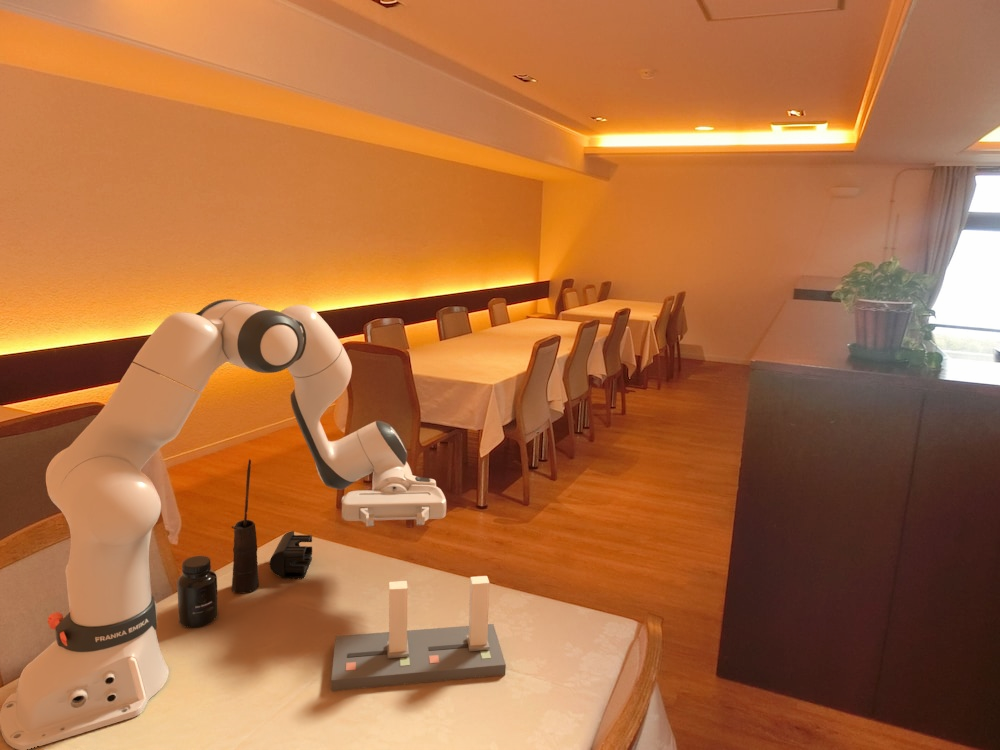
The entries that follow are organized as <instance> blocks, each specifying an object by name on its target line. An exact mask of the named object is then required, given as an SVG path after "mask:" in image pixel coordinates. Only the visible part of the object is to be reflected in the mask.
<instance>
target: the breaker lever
mask: <svg viewBox="0 0 1000 750" xmlns="http://www.w3.org/2000/svg"><path fill="white" fill-rule="evenodd" d="M469 578H470V579H469V580H470V581H469V582H470V585H469V588H470V589H469V611H468V612H469V613H468V615H469V617H468V626H469V635H466V639H467V643H468V648H469V651H478V650H489V649H490V647H489V643H488V640H487V635H488V624H489V605H490V580H489V578H488V576H487V575H477V576H470V577H469Z"/></svg>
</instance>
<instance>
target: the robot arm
mask: <svg viewBox="0 0 1000 750" xmlns="http://www.w3.org/2000/svg"><path fill="white" fill-rule="evenodd" d="M226 363H230V364H231V365H233V366H235V367H239V368H244V369H246V370H247V369H248V370H252V371H254V372H256V373H259V374H260V373H264V374H273V373H279V372H281V371H284V370H286V369H287V370H288V372H289V374H290V375H291V376H292V378H293V382H294V389H293V390H292V392H291V393H290V394H289V395H290V404H291V408H292V412H293V414H294V416H295V419H296V422H297V424H298V427H299V428H300V431H301V433H302V436H303V438H304V441H305V442H306V443H305V444H306V445H307V447H308V450H309V451H310V454H311V456H312V458H313V460H314V464H315V467H316V470H317V471H316V472H317V475H318V476H319V478H320V480H321V481H322V483H323V484H325V486H326V487H329V488H331V489H335V490H345V489H346V488H349V487H350V486H351V485H352V484H355V483H356V482H357V481H359V480H360V479H362V478H365V477H366V476H368V475H371V474H372V480H371V481H372V482H371V483H372V485H371V486H372V488H371V490H369V489H366V490H363V489H362V490H352V491H348V492H347V493H346V494H345V495H342V497H341V500H340V501H341V519H342V520H344V521H347V522H360V521H361V522H362V523H364V524H365V527H374V525H375V521H395V520H397V521H398V520H400V521H402V520H416V526H425V523H426V521H428V520H432V519H433V520H436V519H437V520H439V519H444V518H445V517H446V515H447V499H446V496H445V494H444V492H443V491H442V489H441V488H440V487H438V486H437V481H436V480H435V479H433V478H428V477H427V478H426V477H420V476H417V475H413V472H412V469H411V467H410V464H409V463H408V461H407V460H408V451H407V449H406V446H405V443H404V441H403V439H402V437H401V436H400V433H399V432H398V431H397V430H396V428H395V427H394V426H393V425H391V424H389V423H387V422H385V421H381V420H375V421H373V422H371V423H368V424H367V425H365V426H363V427H361V428H359V429H357V430H355V431H353V432H352V433H349V434H347V435H345V436H344V437H342V438H340V439H337V440H333V441H330V440H329V439H328V437H327V435H326V432H325V430H324V427H323V425H322V423H321V418H322V416H323V415H324V413H325V412H326V411H327V409H328V408H329V407H330V406H331V405H332V404H333V403H334V402H335V401H336V400H337V399H339V398H340V397H341V395H342V394H343V393H344V392H345V390H346V389H347V388H348V385H349V383H350V381H351V377H352V371H353V366H352V363H351V360H350V357H349V356H348V353H347V351H346V349H345V347H344V345H343V344H342V342H341V341H340V339H339V337H338V336H337V334H336V333H335V332H334V331H333V330H332V328H331V326H329V324H328V323H327V322H326V321H325V320H324V318H322V316H321V315H320V314H319V313H318V312H317V311H316V310H315V309H314V308H312V307H311V306H308V305H305V304H304V305H303V304H295V305H291V306H288V307H285V308H284V309H282V310H280V311H278V310H275V309H269V308H267V307H264V306H262V305H259V304H258V303H255V302H249V301H241V300H237V299H232V298H231V299H230V298H229V299H219V300H216V301H213V302H211V303H209V304H207V305H205V306H204V307H203V308H202V309H201V310H200V311H197V312H196V313H193V312H184V311H183V312H182V311H180V312H175V313H172V314H170V315H169V316H167V317H166V318H165V319H164V320H163V321H162V322H161V323H160V325H159V326H157V327H156V329H155V330H154V332H152V333H151V334H150V336H149V337H148V338H147V340H146V341H145V342H144V344H143V345H142V347H141V348H140V349H139V351H138V352H137V354H136V356H135V357H134V359H133V360H132V362H131V363H130V365H129V367H128V368H127V370H126V372H125V374H124V375H123V376H122V378H121V380H120V382H119V383H118V385H117V386H116V388H115V389H114V391H113V393H112V395H110V398H109V399H108V401H107V403H106V404H105V405H104V406H103V407H102V408H101V410H100V412H98V414H97V415H96V417H94V419H93V420H92V421H91V422H90V423H89V424H88V425H87V426H86V427H85V428H84V430H83V431H82V432H81V433H80V434H79V435H78V436H77V437H76V438H75V439H74V441H73V442H72V443H71V444H70V445H69V446H68V447H66V448H64V449H62V450H61V451H60V452H59V451H58V453H57V454H56V455H54V457H52V459H51V461H50V462H49V464H48V466H47V468H46V470H45V471H46V472H45V483H46V484H45V485H46V490H47V495H48V497H49V499H50V500H51V502H52V503H53V504H54V505H55V506H56V507H57V508H58V509H59V510H60V511H61V513H62V514H63V516H64V517H65V519H66V522H67V523H68V528H69V532H70V547H69V548H70V550H69V558H68V562H67V564H66V566H65V579H66V589H67V597H68V599H67V601H68V606H69V612H68V613H67V614H66V615H65V616H64V615H63V613H61V612H59V611H58V612H54V613H52V614H50V615H49V617H48V618H47V623H48V625H49V628H50V629H51V630H53V631H54V630H55V631H54V632H55V633H54V634H55V640H54V641H53V642H52V643H51V644H50V645H49V646H48V647H46V648H45V649H44V650H43V651H42V652H41V653H40V654H38V655H37V656H36V657H35V658H34V659H32V660H31V661H30V662H29V663H28V664H27V665H26V666H25V667H24V668H23V670H22V671H21V672H20V673H21V674H20V676H19V679H18V681H17V682H18V683H17V686H16V691H15V692H13V693H12V694H10V695H9V696H8V697H7V698H6V700H5V701H4V702H3V704H2V706H1V708H0V733H1V737H2V738H3V740H4V741H5V743H6V744H7V745H8V746H10V747H11V748H13V749H16V750H27V749H28V750H32V749H35V748H38V747H37V746H39V747H41V746H44V745H48V744H51V743H54V742H57V741H61V740H63V739H64V740H65V739H67V738H71V737H74V736H77V735H80V734H84V733H87V732H89V731H93V730H96V729H99V728H103V727H106V726H109V725H113V724H116V723H118V722H119V723H120V722H122V721H126V720H129V719H132V718H135V717H137V716H139V715H140V714H141V713H142V712H143V711H144V709H145V707H146V706H147V704H148V702H149V701H150V699H152V698H153V697H154V696H155V695H157V693H158V692H159V691H160V690H161V689H162V687H164V685H165V684H166V682H167V680H168V679H169V678H168V677H169V675H170V670H169V667H168V665H167V663H166V661H165V658H164V656H163V653H162V651H161V648H160V647H161V646H160V644H159V640H158V635H157V628H158V625H157V623H158V612H157V602H156V600H155V596H153V594H152V589H151V588H152V586H151V575H150V574H151V573H150V562H149V561H150V560H149V553H150V546H151V545H150V544H151V543H150V542H151V538H152V537H151V536H152V530H153V528H154V526H155V525H156V523H158V520H159V518H160V515H161V511H162V501H161V499H160V498H161V497H160V495H159V493H158V491H157V488H156V487H155V485H154V483H153V481H152V480H151V479H150V478H149V476H147V474H145V473H144V472H142V469H143V468H144V466H145V465H146V464H147V462H148V461H149V460H150V459H151V458H152V457H153V456H154V455H155V454H156V453H157V452H158V451H160V449H161V448H162V447H163V446H164V445H166V444H168V443H170V442H171V441H173V440H175V439H176V438H177V437H178V435H179V434H180V432H181V431H182V428H183V427H184V426H185V424H186V422H187V420H188V418H189V416H190V415H191V414H192V411H193V410H194V409H195V406H196V405H197V403H198V401H199V399H200V398H201V396H202V394H203V392H204V390H205V389H206V386H207V385H208V383H209V381H210V379H211V376H212V375H213V374H214V373H215V372H216V371H217V369H219V368H220V367H222V365H224V364H226ZM34 747H35V748H34ZM31 748H32V749H31Z"/></svg>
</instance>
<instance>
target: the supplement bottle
mask: <svg viewBox="0 0 1000 750" xmlns="http://www.w3.org/2000/svg"><path fill="white" fill-rule="evenodd" d="M181 565H182V569H181V575H180V576H179V577H178V579H177V584H176V587H177V590H176V591H177V607H178V608H177V609H178V611H177V612H178V620H179V621H178V622H179V624H180V625H181V626H183V627H184V628H187V629H188V628H189V629H197V628H198V629H199V628H202V627H206V626H208V625H210V624H211V623H214V621H216V619H217V617H218V616H219V615H218V614H219V599H218V576H217V574H216V572H215V571H214V570H212V564H211V558H210V557H209V556H206V555H194V556H191V557H188V558H186V559H184V560H183V562H182V564H181Z"/></svg>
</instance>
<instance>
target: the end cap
mask: <svg viewBox="0 0 1000 750" xmlns="http://www.w3.org/2000/svg"><path fill="white" fill-rule="evenodd" d="M312 542H313V535H312V534H304V535H303V534H295V531H293V530H291V531H288V532H286V533H285V534H283V536H282V537H281V538H280V540H279V543H278V544H277V546H276V548H275V550H274V551H273V553H272V555H271V557H270V560H269V569H270V570H271V572H272V573H273V574H274V575H276V576H278V577H279V578H281V579H284V580H302V578H303V579H304V577H306V576H307V573H308V571H309V567H310V566H309V565H311V563H312V559H313V557H312V555H313V546H306V545H305V546H301V545H300V544H301V543H312ZM307 570H308V571H307ZM293 578H294V579H293ZM298 578H299V579H298ZM300 578H301V579H300Z"/></svg>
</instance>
